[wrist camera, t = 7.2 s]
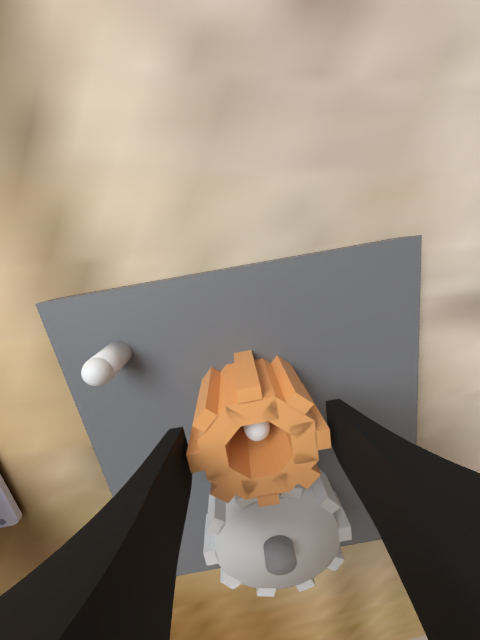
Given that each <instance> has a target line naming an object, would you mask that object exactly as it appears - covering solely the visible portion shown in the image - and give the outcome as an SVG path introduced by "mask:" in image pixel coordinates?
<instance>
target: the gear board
mask: <svg viewBox="0 0 480 640" xmlns="http://www.w3.org/2000/svg"><path fill="white" fill-rule="evenodd" d="M421 241H422V235H419V236H409V237H399V238H394V239H388V240H382V241H377V242H371V243H365V244H360V245H354V246H348V247H343V248H337V249H332V250H326V251H320V252H315V253H309V254H303V255H298V256H292V257H287V258H281V259H275V260H270V261H264V262H258V263H253V264H247V265H242V266H236V267H230V268H225V269H219V270H213V271H208V272H202V273H197V274H191V275H185V276H180V277H174V278H168V279H163V280H157V281H151V282H146V283H140V284H135V285H129V286H123V287H118V288H112V289H106V290H101V291H95V292H90V293H84V294H78V295H73V296H67V297H61V298H56V299H52V300H48V301H45V302H41V303H37V304H36V307H37V309H38V312H39V314H40V317H41V319H42V322H43V324H44V327H45V329H46V332H47V334H48V337H49V339H50V342H51V344H52V347H53V349H54V352H55V354H56V357H57V359H58V362H59V364H60V367H61V369H62V372H63V374H64V377H65V379H66V381H67V384H68V386H69V389H70V391H71V394H72V396H73V399H74V401H75V404H76V406H77V409H78V411H79V414H80V416H81V419H82V421H83V424H84V426H85V429H86V431H87V434H88V436H89V439H90V441H91V444H92V446H93V449H94V451H95V454H96V456H97V459H98V461H99V464H100V466H101V469H102V471H103V474H104V476H105V478H106V481H107V483H108V486H109V488H110V491H111V493H112V496H113V497H114V496H115V495H116V494H117V493H118V491H119V490H120V489H121V488H122V487H123V486H124V485H125V483H126V482H127V481H128V480H129V479H130V478H131V476H132V475H133V474H134V473H135V472H136V471H137V469H138V468H139V467H140V466H141V465H142V463H143V462H144V461H145V460H146V458H147V457H148V456H149V454H150V453H151V452H152V451H153V449H154V448H155V447H156V445H157V444H158V443H159V442H160V440H161V439H162V438H163V436H164V435H165V434H166V432H167V431H168V430H169V429H172V428H177V427H183V429H184V432H185V436H186V439H187V443H189V439H190V434H191V429H192V424H193V419H194V415H195V410H196V405H197V400H198V395H199V391H200V386H201V381H202V379H203V377H204V376H205V375H206V373H207V372H208V371H209V369H210V368H211V367H213V368H214V369H216V370H218V371H219V372H221V371H222V369H223V368H224V367H225V365H227V364H233V363H234V353H237V352H243V351H248V350H252V354H253V358H254V360H255V359H261V358H263V359H265V360H267V361H268V362H270V363H271V362H272V361H273V360H274V358H275V357H276V356H277V355H278V356H279V357H281V358H282V359H284V360H286V361H287V362H289V363H290V364H291V365H292V367H293V369H294V370H295V372H296V374H297V376H298V377H299V379H300V381H301V383H302V384H304V386H305V388H306V389H307V391H308V393H309V394H310V396H311V398H312V400H313V401H314V403H315V405H316V406H317V408H318V410H319V412H320V413H321V415H322V417H323V418H324V420H325V422H326V424H327V413H326V402H325V401H328V400H334V399H341V400H342V401H344V402H345V403H347V404H348V405H350V406H351V407H353V408H354V409H356V410H357V411H359V412H360V413H362V414H363V415H365V416H367V417H368V418H370V419H371V420H373V421H375V422H376V423H378V424H379V425H381V426H383V427H384V428H386V429H388V430H389V431H391V432H393V433H395V434H397V435H398V436H400V437H402V438H404V439H406V440H407V441H409V442H411V443H413V444H415V445H416V436H417V397H418V358H419V319H420V280H421ZM243 428H244V432H245V434H246V436H247V437H248V438H249V439H251V440H253V441H261V440H263V439H265V438H266V437H267V436H268V434H269V431H270V424H269V421H268V422H262V423H256V424H251V425H245V426H243ZM318 456H319V461H318V462H317V463H316V464H317V466H318V468H319V471H320V473H321V475H320V476H319V477H318V479H317V480H316V481H315V482H314V483H313V484H312V485H311V486H310V487H309V488H308V489H306V488H305V487H303V486H301V485H299V484H297V485H296V486H295V487H294V488H293V489H292V490H291V491H290V492H285V493H280V494H278V495H279V501H280V504H275V505H269V506H264V507H259V504H258V499H257V498H252V499H246V500H245V499H243V498H241V497H239V496H237V495H235V496H234V497H233V498H232V499H231V501H230V502H229V503H226V502H224V501H222V500H220V499H218V498H216V497H214V496H212V495H210V490H211V482H210V481H208V480H207V477H206V473H205V471H200V472H194V473H193V474H192V486H191V493H190V499H189V504H188V510H187V515H186V520H185V526H184V531H183V536H182V541H181V547H180V552H179V558H178V564H177V571H176V576H179V575H184V574H190V573H196V572H201V571H207V570H212V569H218V568H221V580H220V582H221V583H223V584H225V585H226V586H228V587H230V588H231V589H233V590H234V589H235V588H236V587H237V586H239V585H240V584H243V585H246V586H249V587H253V588H256V589H257V596H269V597H274V595H275V591H276V589H282V588H288V587H292V586H296V587H297V589H298V590H299V592H301V591H304V590H306V589H308V588H311V587H313V586H315V582H314V577H316V576H317V575H319V574H320V573H321V572H322V571H324V570H325V569H329V570H333V571H336V570H337V569H338V568H339V566H340V565H341V564H342V563H343V561H344V560H345V559H344V556H343V554H342V551H341V548H340V547H341V546H346V545H352V544H357V543H363V542H368V541H374V540H380V539H382V538H381V536H380V534H379V532H378V530H377V528H376V526H375V525H374V523H373V521H372V519H371V517H370V516H369V514H368V512H367V510H366V509H365V507H364V505H363V503H362V502H361V500H360V498H359V497H358V495H357V493H356V491H355V490H354V488H353V486H352V485H351V483H350V481H349V479H348V478H347V476H346V474H345V472H344V471H343V469H342V467H341V465H340V463H339V462H338V459H337V457H336V455H335V453H334V450H333V448H332V446H331V448H328V449H323V450H318Z"/></svg>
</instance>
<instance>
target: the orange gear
mask: <svg viewBox="0 0 480 640" xmlns="http://www.w3.org/2000/svg"><path fill="white" fill-rule="evenodd" d="M268 421H269V424H270V431H269V434H268V436H267V437H266V438H265V439H263V440H261V441H253V440H251V439H249V438H248V437H247V436H246V434H245V432H244V428H243V426H245V425H251V424H256V423H262V422H268ZM328 448H331V438H330V429H329V427H328V425H327V424H326V422H325V420H324V418H323V417H322V415H321V413H320V412H319V410H318V408H317V406H316V405H315V403H314V401H313V400H312V398H311V396H310V394H309V393H308V391H307V389H306V388H305V386H304V384H302V383H301V381H300V379H299V377H298V376H297V374H296V372H295V370H294V369H293V367H292V365H291V364H290V363H289V362H287V361H286V360H284V359H282V358H281V357H279V356H278V355H277V356H276V357H275V358H274V360H273V361H272V362H271V363H270V362H268V361H267V360H265V359H263V358H261V359H255V360H254V358H253V354H252V350H248V351H243V352H237V353H234V363H233V364H227V365H225V367H224V368H223V369H222V371H221V372H219V371H218V370H216V369H214V368H213V367H211V368H210V369H209V371H208V372H207V373H206V375H205V376H204V377H203V379H202V381H201V386H200V391H199V395H198V400H197V405H196V410H195V415H194V419H193V424H192V429H191V434H190V439H189V443H188V448H187V453H186V456H187V460H188V463H189V467H190V471H191V473H194V472H200V471H205V473H206V477H207V480H208V481H210V482H211V490H210V495H212V496H214V497H216V498H218V499H220V500H222V501H224V502H226V503H229V502H230V501H231V499H232V498H233V497H234V496H235V495H237V496H239V497H241V498H243V499H245V500H246V499H252V498H257V499H258V504H259V507H264V506H269V505H275V504H280V501H279V495H278V494H280V493H285V492H290V491H291V490H292V489H293V488H294V487H295V486H296V485H297V484H299V485H301V486H303V487H305V488H306V489H308V488H309V487H310V486H311V485H312V484H313V483H314V482H315V481H316V480H317V479H318V477H319V476H320V475H321V473H320V471H319V468H318V466H317V464H316V463H317V462H318V461H319V456H318V450H323V449H328Z"/></svg>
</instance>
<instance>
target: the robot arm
mask: <svg viewBox="0 0 480 640" xmlns="http://www.w3.org/2000/svg"><path fill="white" fill-rule="evenodd" d="M325 402H326V413H327V425H328V427H329V429H330V438H331V446H332V448H333V450H334V453H335V455H336V457H337V459H338V462H339V463H340V465H341V467H342V469H343V471H344V472H345V474H346V476H347V478H348V479H349V481H350V483H351V485H352V486H353V488H354V490H355V491H356V493H357V495H358V497H359V498H360V500H361V502H362V503H363V505H364V507H365V509H366V510H367V512H368V514H369V516H370V517H371V519H372V521H373V523H374V525H375V526H376V528H377V530H378V532H379V534H380V536H381V538H382V540H383V542H384V544H385V547H386V549H387V551H388V553H389V555H390V557H391V559H392V561H393V563H394V565H395V567H396V570H397V572H398V574H399V576H400V578H401V580H402V583H403V585H404V587H405V589H406V591H407V593H408V596H409V598H410V600H411V602H412V604H413V606H414V609H415V611H416V613H417V615H418V618H419V620H420V622H421V624H422V627H423V629H424V631H425V633H426V636H427V638H428V640H480V473H477V472H475V471H473V470H470V469H468V468H465V467H463V466H460V465H458V464H455V463H453V462H451V461H449V460H446V459H444V458H442V457H440V456H438V455H436V454H433V453H431V452H429V451H427V450H425V449H423V448H421V447H419V446H417V445H415V444H413V443H411V442H409V441H407V440H406V439H404V438H402V437H400V436H398V435H397V434H395V433H393V432H391V431H389V430H388V429H386V428H384V427H383V426H381V425H379V424H378V423H376V422H375V421H373V420H371V419H370V418H368V417H367V416H365V415H363V414H362V413H360V412H359V411H357V410H356V409H354V408H353V407H351V406H350V405H348V404H347V403H345V402H344V401H342V400H341V399H334V400H328V401H325ZM187 448H188V443H187V439H186V436H185V432H184V429H183V427H177V428H172V429H169V430H168V431H167V432H166V434H165V435H164V436H163V438H162V439H161V440H160V442H159V443H158V444H157V445H156V447H155V448H154V449H153V451H152V452H151V453H150V454H149V456H148V457H147V458H146V460H145V461H144V462H143V463H142V465H141V466H140V467H139V468H138V469H137V471H136V472H135V473H134V474H133V475H132V476H131V478H130V479H129V480H128V481H127V482H126V483H125V485H124V486H123V487H122V488H121V489H120V490H119V491H118V493H117V494H116V495H115V496H114V497H113V498H112V499H111V500H110V501H109V502H108V503H107V504H106V505H105V506H104V507H103V508H102V509H101V510H100V511H99V512H98V513H97V514H96V515H95V516H94V517H93V518H92V519H91V520H90V521H89V522H88V523H87V524H86V525H85V526H84V527H83V528H82V529H80V530H79V531H78V532H77V533H76V534H75V535H74V536H73V537H72V538H71V539H69V540H68V541H67V542H66V543H65V544H64V545H63V546H62V547H61V548H60V549H58V550H57V551H56V552H55V553H54V554H52V555H51V556H50V557H49V558H48V559H47V560H45V561H44V562H43V563H42V564H41V565H39V566H38V567H37V568H36V569H34V570H33V571H32V572H31V573H29V574H28V575H27V576H26V577H25V578H23V579H22V580H21V581H20V582H18V583H17V584H16V585H14V586H13V587H12V588H11V589H9V590H8V591H7V592H5V593H4V594H3V595H1V596H0V640H169V639H170V629H171V619H172V608H173V599H174V590H175V580H176V571H177V564H178V558H179V552H180V547H181V541H182V536H183V531H184V526H185V520H186V515H187V510H188V504H189V499H190V493H191V486H192V474H193V473H191V471H190V467H189V463H188V460H187V456H186V453H187ZM21 518H22V513H21V511H20V509H19V507H18V506H17V504H16V502H15V500H14V498H13V496H12V495H11V493H10V491H9V489H8V487H7V485H6V484H5V482H4V480H3V478H2V476H1V474H0V528H2V527H7V526H13V525H16V524H17V523H18V522H19V520H20V519H21Z"/></svg>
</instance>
